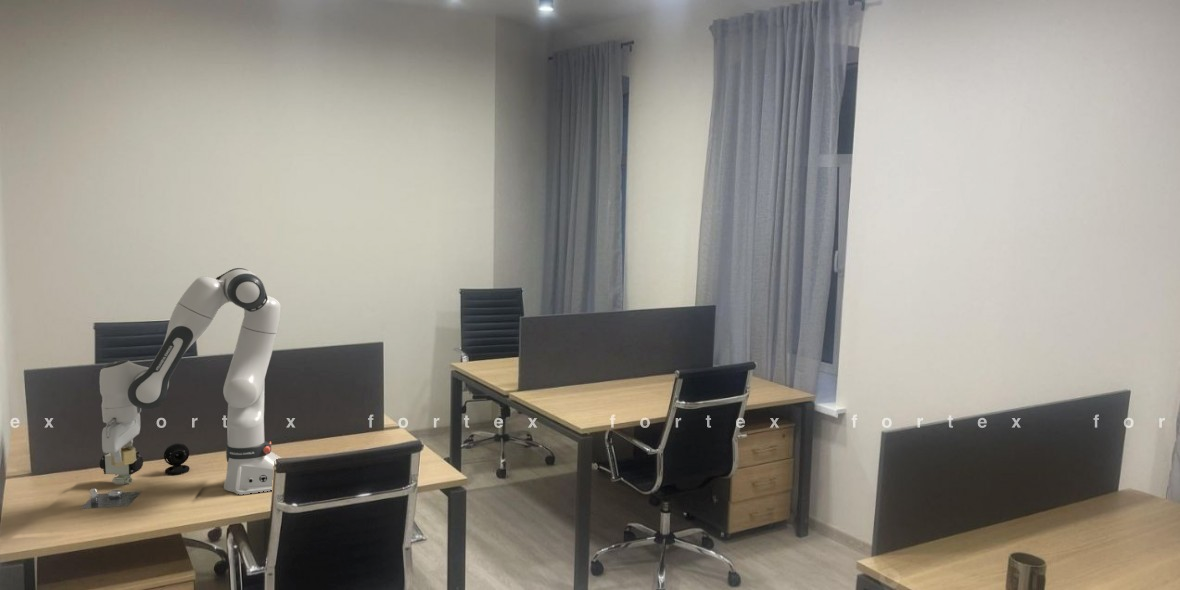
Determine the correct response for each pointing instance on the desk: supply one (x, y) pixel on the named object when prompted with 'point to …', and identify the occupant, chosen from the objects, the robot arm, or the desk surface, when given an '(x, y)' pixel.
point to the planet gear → (125, 456)
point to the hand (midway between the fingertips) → (123, 458)
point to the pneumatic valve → (121, 469)
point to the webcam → (176, 459)
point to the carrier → (109, 499)
